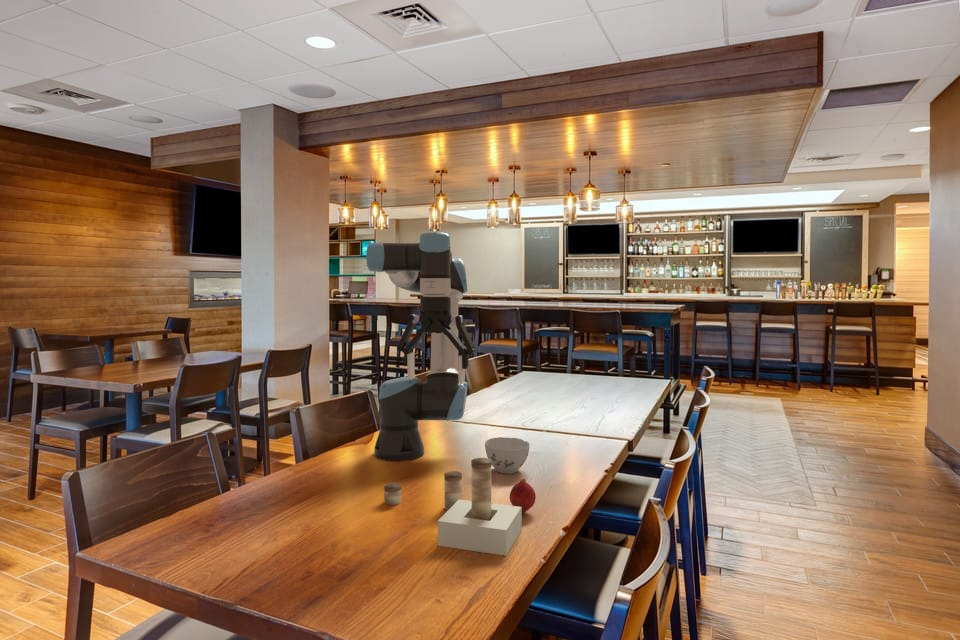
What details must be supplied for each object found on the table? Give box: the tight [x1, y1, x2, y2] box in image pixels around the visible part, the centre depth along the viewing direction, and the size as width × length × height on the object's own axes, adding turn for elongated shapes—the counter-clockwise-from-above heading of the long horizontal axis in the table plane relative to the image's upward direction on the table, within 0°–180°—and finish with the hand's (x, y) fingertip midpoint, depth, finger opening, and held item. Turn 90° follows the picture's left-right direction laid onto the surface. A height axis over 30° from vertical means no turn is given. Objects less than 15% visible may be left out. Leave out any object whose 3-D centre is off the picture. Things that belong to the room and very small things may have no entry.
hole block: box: [437, 499, 523, 557], centre depth 115 cm, size 14×12×5 cm
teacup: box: [484, 436, 530, 475], centre depth 159 cm, size 15×12×8 cm
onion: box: [509, 477, 537, 514], centre depth 128 cm, size 6×6×8 cm
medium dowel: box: [443, 470, 463, 512], centre depth 131 cm, size 4×4×8 cm
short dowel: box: [383, 482, 402, 506], centre depth 135 cm, size 4×4×4 cm
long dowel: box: [470, 457, 493, 521], centre depth 115 cm, size 4×4×16 cm
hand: (436, 380), depth 142 cm, fingers open, 13 cm apart
